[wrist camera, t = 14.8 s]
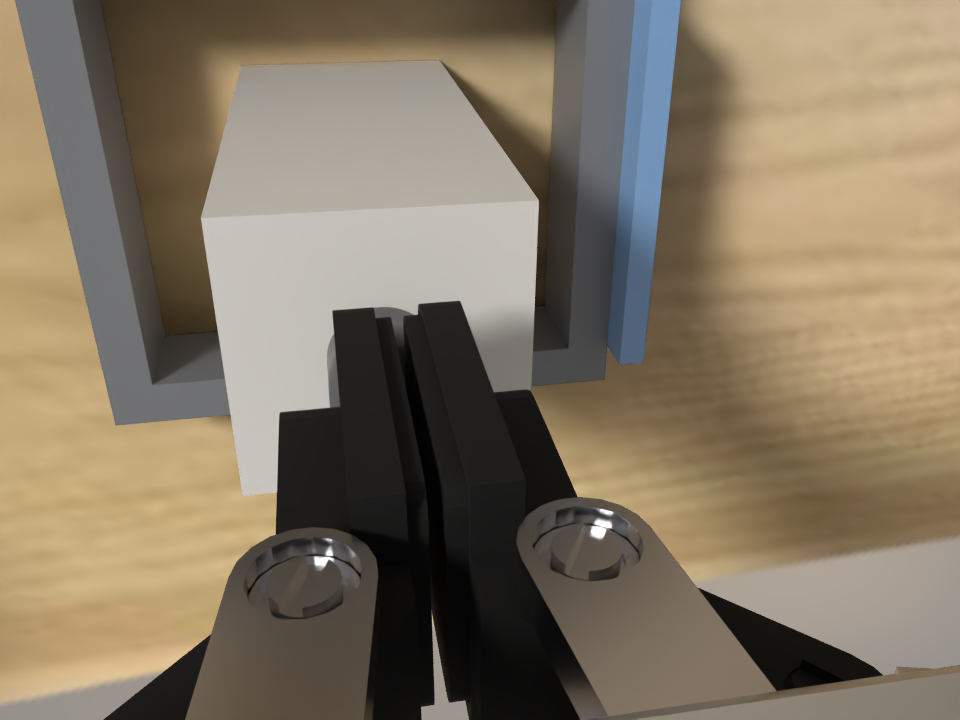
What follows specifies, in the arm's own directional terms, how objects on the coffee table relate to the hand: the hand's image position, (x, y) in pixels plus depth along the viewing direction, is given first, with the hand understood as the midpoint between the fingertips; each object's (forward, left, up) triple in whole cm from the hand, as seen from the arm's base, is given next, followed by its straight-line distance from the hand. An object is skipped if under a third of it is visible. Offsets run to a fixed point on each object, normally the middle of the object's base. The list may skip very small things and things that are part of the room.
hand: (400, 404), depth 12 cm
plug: (0, 0, -11) cm, 11 cm away
